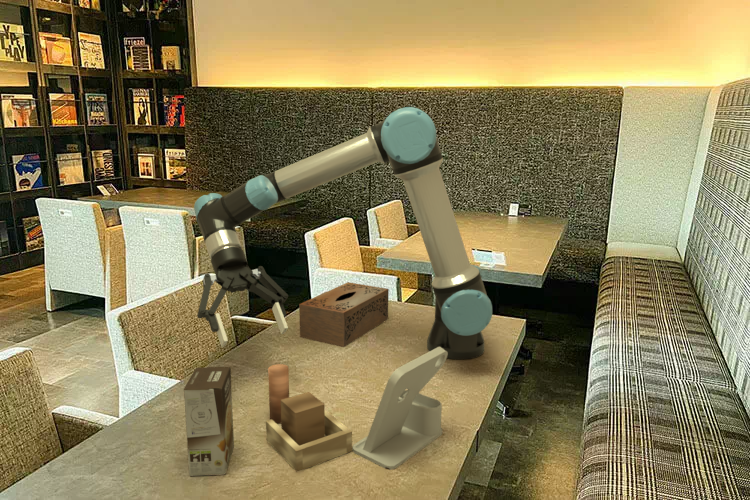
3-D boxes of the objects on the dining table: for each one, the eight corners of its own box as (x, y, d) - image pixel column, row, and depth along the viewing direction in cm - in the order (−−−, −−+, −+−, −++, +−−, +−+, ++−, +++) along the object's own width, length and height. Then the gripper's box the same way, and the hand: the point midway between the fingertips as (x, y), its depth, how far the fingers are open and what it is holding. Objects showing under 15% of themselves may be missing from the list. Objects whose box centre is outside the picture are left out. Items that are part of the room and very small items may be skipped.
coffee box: (226, 475, 98) (222, 388, 94) (188, 476, 97) (182, 389, 94) (235, 445, 107) (231, 365, 103) (199, 447, 106) (194, 366, 103)
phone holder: (405, 415, 119) (407, 333, 115) (446, 431, 112) (450, 345, 108) (349, 450, 106) (349, 359, 102) (392, 472, 99) (394, 376, 95)
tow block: (262, 418, 116) (260, 368, 114) (288, 410, 120) (287, 361, 117) (296, 453, 105) (295, 397, 102) (324, 443, 108) (324, 389, 105)
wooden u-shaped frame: (266, 440, 109) (265, 421, 108) (319, 422, 115) (318, 404, 114) (296, 472, 99) (296, 451, 98) (352, 451, 105) (352, 431, 104)
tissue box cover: (343, 348, 154) (343, 312, 152) (299, 338, 160) (299, 304, 158) (388, 320, 176) (388, 288, 174) (347, 312, 183) (347, 282, 180)
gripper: (272, 257, 140) (302, 333, 131) (168, 270, 126) (193, 357, 117) (281, 239, 135) (313, 318, 126) (173, 251, 121) (200, 341, 112)
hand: (255, 337), depth 122 cm, fingers open, 13 cm apart
